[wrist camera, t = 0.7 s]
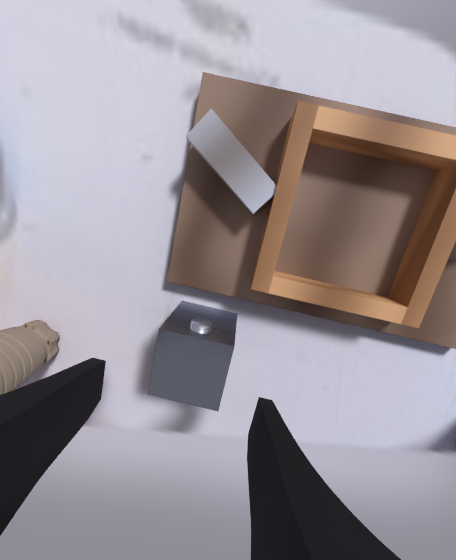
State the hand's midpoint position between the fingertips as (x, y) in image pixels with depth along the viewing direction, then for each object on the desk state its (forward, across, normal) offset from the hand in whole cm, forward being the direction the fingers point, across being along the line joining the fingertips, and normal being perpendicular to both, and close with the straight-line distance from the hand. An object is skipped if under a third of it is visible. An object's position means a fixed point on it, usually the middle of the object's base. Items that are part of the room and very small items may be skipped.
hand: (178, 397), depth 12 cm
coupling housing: (+7, -7, -10) cm, 14 cm away
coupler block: (+7, 0, 0) cm, 7 cm away
